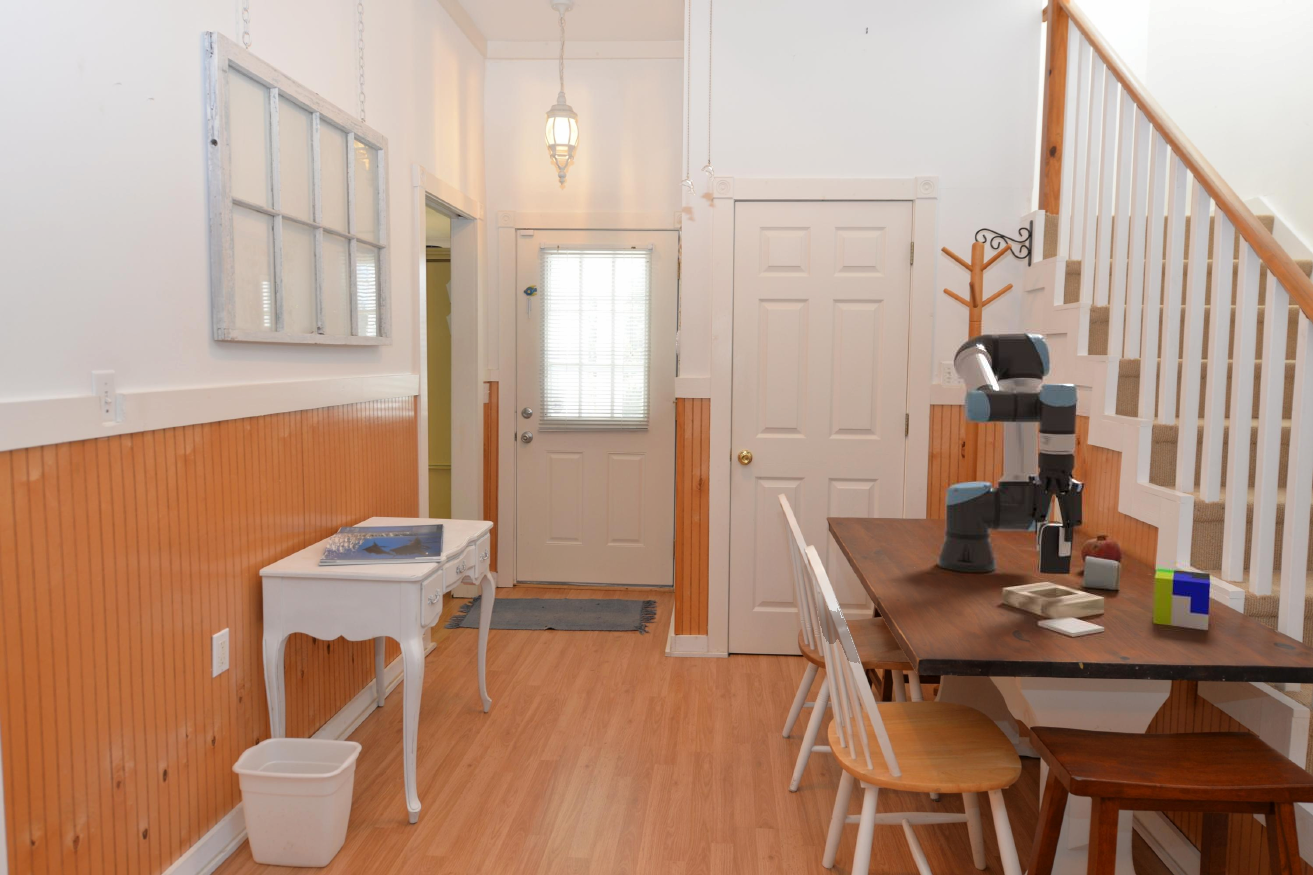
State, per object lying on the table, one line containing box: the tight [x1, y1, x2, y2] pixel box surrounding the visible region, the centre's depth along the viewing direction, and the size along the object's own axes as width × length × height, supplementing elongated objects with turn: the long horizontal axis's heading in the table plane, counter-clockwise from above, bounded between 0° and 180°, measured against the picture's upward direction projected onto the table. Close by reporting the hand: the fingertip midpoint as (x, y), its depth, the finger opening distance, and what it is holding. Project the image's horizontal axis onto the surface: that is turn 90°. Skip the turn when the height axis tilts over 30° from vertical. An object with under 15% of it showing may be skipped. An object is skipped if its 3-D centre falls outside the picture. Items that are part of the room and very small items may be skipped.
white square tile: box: [1037, 616, 1105, 638], centre depth 185 cm, size 9×9×1 cm
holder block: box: [1002, 581, 1106, 619], centre depth 201 cm, size 16×14×4 cm
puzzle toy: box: [1152, 568, 1211, 631], centre depth 190 cm, size 10×10×10 cm
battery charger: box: [1037, 522, 1074, 575], centre depth 200 cm, size 7×4×11 cm, turn 86°
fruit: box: [1081, 534, 1123, 564], centre depth 234 cm, size 11×10×10 cm
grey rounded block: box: [1082, 556, 1122, 591], centre depth 219 cm, size 11×8×8 cm
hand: (1053, 552), depth 200 cm, fingers closed on battery charger, 6 cm apart
